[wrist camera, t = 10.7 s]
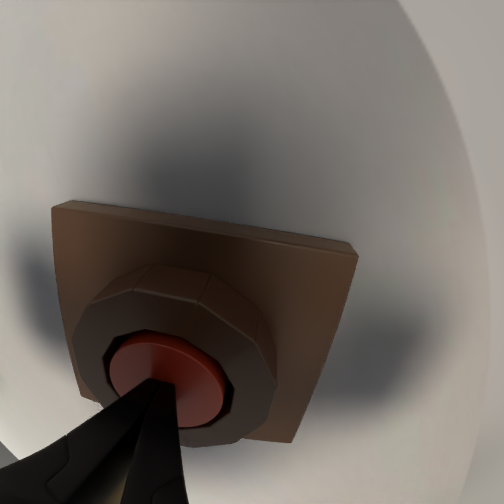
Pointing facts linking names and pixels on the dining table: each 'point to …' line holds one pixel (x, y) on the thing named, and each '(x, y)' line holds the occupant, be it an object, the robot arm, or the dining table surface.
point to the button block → (203, 307)
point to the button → (171, 373)
